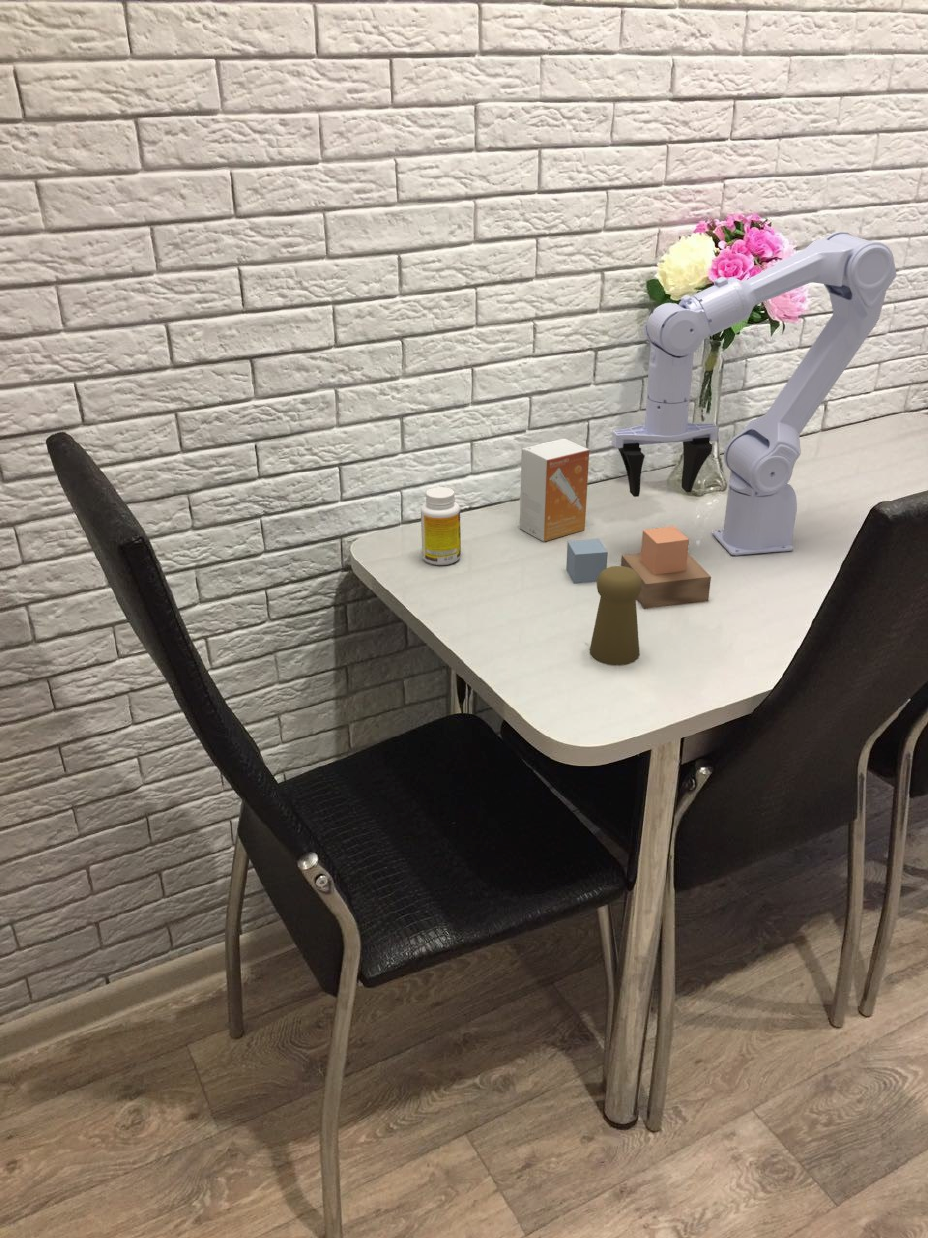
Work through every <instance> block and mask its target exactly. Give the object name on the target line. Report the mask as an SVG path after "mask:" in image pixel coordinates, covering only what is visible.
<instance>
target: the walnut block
mask: <svg viewBox="0 0 928 1238" xmlns="http://www.w3.org/2000/svg"><path fill="white" fill-rule="evenodd" d="M640 559H641V552H638V553H630V554H622V555H621V560H620V561H621V563H620V566H624V567H629V568H631V569H633V570H635V571H636V572H637V573H638V574H639V576H640V577H641V583H642V587H641V591H640V594H639V596H638V597H637V598H636V602H637V603H638V604H639V605H640V606H641V608H642V609H644V610H646V609H647V610H648V609H655V608H663V607H664V608H666V607H673V606H679V605H680V606H681V605H688V604H699V603H707V602H709V598H710V590H711V582H712V576H711V575H710V574H709V573H708V572H707V570H705V569H704V568H703V567H702V566H701V565H700V564H699V563H698V562H697V561H696V560H695V558H693V556H691V554H690V553H689V552H688V555H687V565H686V571H679V572H672V573H665V574H657V575H654V574H653V573H652V572H651V571H650V570H649V569H648V568H647V567H646V566H645V565H644V564H643V563H642V562H641V561H640Z"/></svg>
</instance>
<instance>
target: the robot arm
mask: <svg viewBox="0 0 928 1238" xmlns="http://www.w3.org/2000/svg"><path fill="white" fill-rule="evenodd" d="M894 258H895V257H894V255H893V252H892V250H891V248H890V247H889V246H888V245H887V244H885V243H883V242H881V241H872V240H869V239H864V238H861V237H858V236H855V235H853V234H851V233H848V232H845V231H837V232H833V233H831V234H829V235H828V236H826V237H825V238H819V239H816V240H814V241H812V242H811V243H810V244H809V245H807V247H805V248H803V249H802V250H800V251H798V252H796V253H794V254H793V255H790V256H788V257H787V258H785V259H783V260H781V261H780V262H777V263H775V264H773V265H772V266H770V267H768V268H766V269H764V270H762V271H761V272H759V273H757V274H754V275H753V276H752V277H749V278H748V279H746V280H744V281H742V280H740V279H738V278H736V277H728V278H726V277H724V276H720V277H718V278H716V279H714V280H713V282H714V284H713V285H711V286H710V287H707V288H705V289H704V290H701V291H699V292H697V293H695V294H692V295H689V294H686V295H684V296H681V297H680V301H679V303H678V304H677V303H675V302H673V303H672V302H665V303H662V304H661V305H659V306H657V307H656V308H655V309H654V310H653V312H652V313H651V314H650V315H649V317H648V320H647V323H645V324H644V325H643V331H644V334H645V336H646V339H647V340H648V341H649V342H650V351H649V362H648V372H647V373H648V374H647V375H648V377H647V385H646V404H645V417H644V424H641V425H638V426H637V425H636V426H633V427H631V426H630V427H628V428H624V429H623V428H622V429H615V430H612V433H611V444H612V446H613V447H614V448H615V449H618V452H619V454H620V456H621V458H622V461H623V465H624V467H625V470H626V471H625V472H626V475H627V480H628V486H629V493H630V494H631V495H632V497H634V498H636V497H637V498H638V497H640V492H641V475H642V468H643V465H644V460H645V454H644V453H643V452H642V448H641V447H640V446H642V445H643V446H644V445H654V444H655V445H656V444H658V445H659V444H668V443H670V444H671V443H681V442H682V447H683V448H682V449H683V450H682V451H683V465H682V466H683V467H682V474H681V489H683V490H684V491H685V492H686V493H692V491H693V487H694V484H695V481H696V480H697V479H696V478H697V477H698V474H699V473H700V470H701V469H702V466H703V464H705V462H706V460H707V459H708V457H710V455H711V453H712V452H713V445H712V444H711V442H717V441H718V437H719V436H718V435H719V430H720V429H719V426H717V425H716V424H715V423H713V422H712V423H711V422H709V423H706V422H705V423H704V422H703V423H700V422H698V423H697V422H696V423H695V422H689V413H690V411H689V410H690V401H691V391H692V390H691V389H692V378H693V370H694V369H693V367H694V355H695V354H694V353H695V352H696V351H697V350H698V349H699V347H701V345H702V343H703V341H704V340H705V339H708V338H710V337H712V336H714V335H716V334H718V333H720V332H722V331H724V330H726V329H729V328H731V327H733V326H735V325H737V324H739V323H741V322H744V321H746V320H748V319H749V317H750V316H751V314H752V311H753V309H754V307H755V306H756V305H759V304H761V303H762V304H763V302H766V301H768V300H771V299H773V298H777V297H778V296H781V295H783V294H785V293H788V292H790V291H794V290H796V289H798V288H800V287H803V286H806V285H809V284H810V283H815V284H820V285H821V284H823V285H824V287H825V289H826V290H827V292H828V294H829V299H830V303H831V304H830V305H831V309H832V315H831V317H830V319H829V320H828V322H827V323H826V324H825V326H824V327H823V328H822V330H821V332H820V333H819V334H818V335H817V337H816V339H815V341H814V342H813V343H812V345H811V346H810V348H809V349H808V351H807V352H806V354H805V355H804V357H803V358H802V360H801V361H800V363H799V364H798V366H797V368H796V369H795V370H794V371H793V373H792V375H791V376H790V378H789V379H788V380H787V382H786V384H785V385H784V386H783V388H782V390H781V391H780V392H779V394H777V395H778V396H776V398H775V400H774V401H773V403H772V404H771V405H770V407H769V408H768V410H767V411H766V413H765V414H763V415H761V416H758V417H756V418H754V419H751V420H750V421H749V422H748V424H747V425H746V426H745V428H744V429H743V430H742V431H741V432H739V433H738V434H736V435H735V436H733V438H731V439H730V440H729V441H728V443H727V445H726V447H725V449H724V454H723V459H724V460H723V461H724V463H725V466H726V467H727V469H729V471H730V473H729V480H728V488H727V496H726V505H725V512H724V513H725V514H724V520H723V521H724V522H723V529H717V530H713V531H712V535H713V537H715V539H716V540H717V541H719V543H720V544H721V545H722V546H723V547H724V548H725V550H727V552H728V553H729V554H730V555H732V556H739V555H740V556H741V555H752V554H763V553H764V554H766V553H778V552H789V551H793V550H794V546H793V545H792V542H793V537H794V530H795V523H796V517H797V511H798V509H797V508H798V501H797V495H796V492H795V489H794V488H793V486H792V485H791V484H789V482H790V480H791V478H792V476H793V472H794V471H793V470H794V468H795V465H796V462H797V461H798V459H799V457H800V456H801V454H802V453H801V452H802V451H801V442H800V441H801V440H800V435H801V434H802V432H803V431H804V429H805V428H806V426H807V425H808V424H809V422H810V420H811V419H812V418H813V416H814V414H816V412H817V410H818V409H819V407H820V406H821V405H822V403H823V401H824V400H825V399H826V398H827V396H828V394H829V393H830V392H831V390H832V389H833V387H834V386H835V384H836V383H837V381H838V380H839V379H840V377H841V375H842V374H843V373H844V371H846V368H847V367H848V365H849V364H850V362H851V361H852V360H853V358H854V357H855V355H856V354H857V353H858V351H859V350H860V348H861V347H862V345H863V344H864V342H865V341H866V339H867V338H868V337H869V335H870V334H871V332H872V331H873V329H874V328H875V327H876V325H877V323H878V321H879V319H880V318H881V317H880V316H881V313H882V309H883V305H884V301H885V297H886V294H887V291H888V289H889V288H890V286H891V285H892V284H893V282H894V280H895V279H896V278H897V270H896V264H895V259H894Z"/></svg>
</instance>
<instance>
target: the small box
mask: <svg viewBox="0 0 928 1238" xmlns="http://www.w3.org/2000/svg"><path fill="white" fill-rule="evenodd" d="M520 454H521V459H520V460H521V463H520V501H519V502H520V504H519V507H520V509H519V510H520V511H519V513H520V514H519V529H520V530H522V531H523V532H526V533H527V534H529V535H531V536H532V537H534V538H536V539H538V540H539V541H541V542H548V541H552V540H553V539H557V538H561V537H564V536H567V535H571V534H575V533H579V532H583V531H585V530H586V514H587V513H586V512H587V499H588V498H587V497H588V479H589V462H590V461H589V460H590V449H589V448H587V447H585V446H582V445H580V444H578V443H576V442H573V441H571V440H569V439H567V438H559V439H555V440H553V441H547V442H542V443H538V444H535V445H530V446H527V447H522V448H521V453H520Z"/></svg>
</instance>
